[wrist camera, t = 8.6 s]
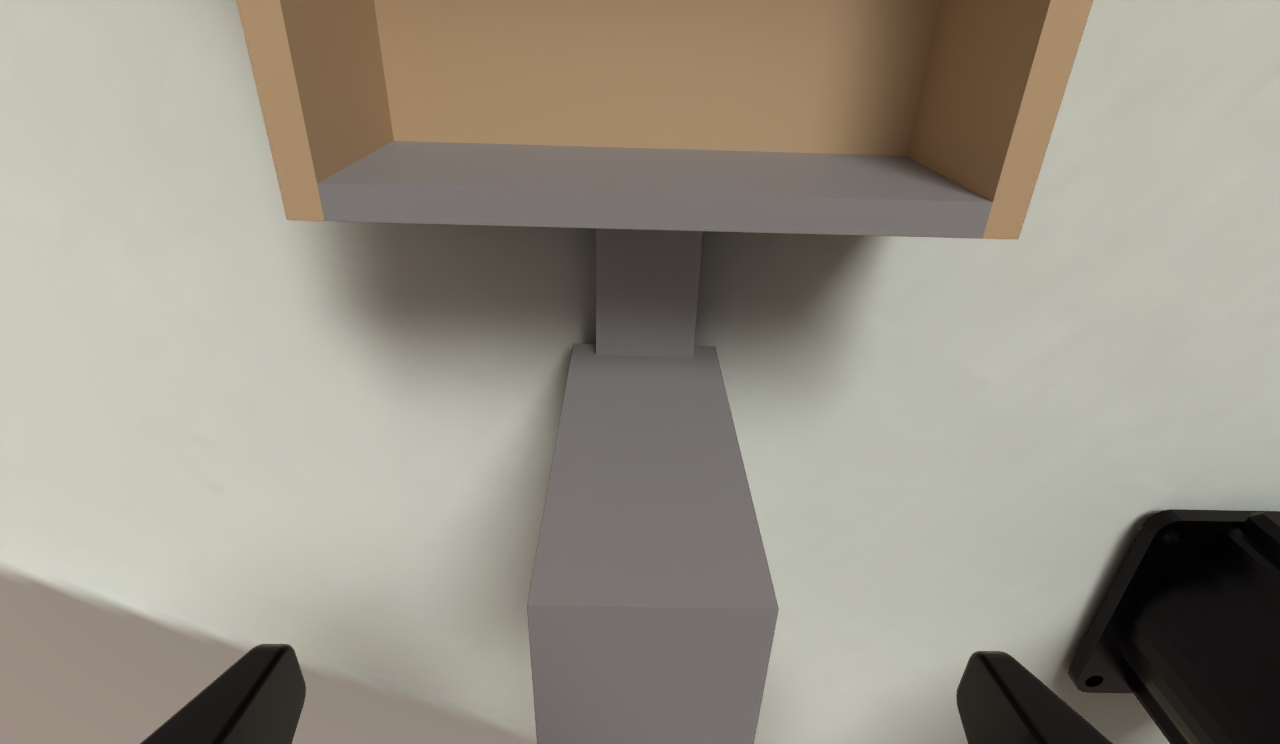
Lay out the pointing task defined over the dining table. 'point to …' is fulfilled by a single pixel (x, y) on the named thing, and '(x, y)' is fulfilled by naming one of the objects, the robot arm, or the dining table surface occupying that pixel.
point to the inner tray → (659, 253)
